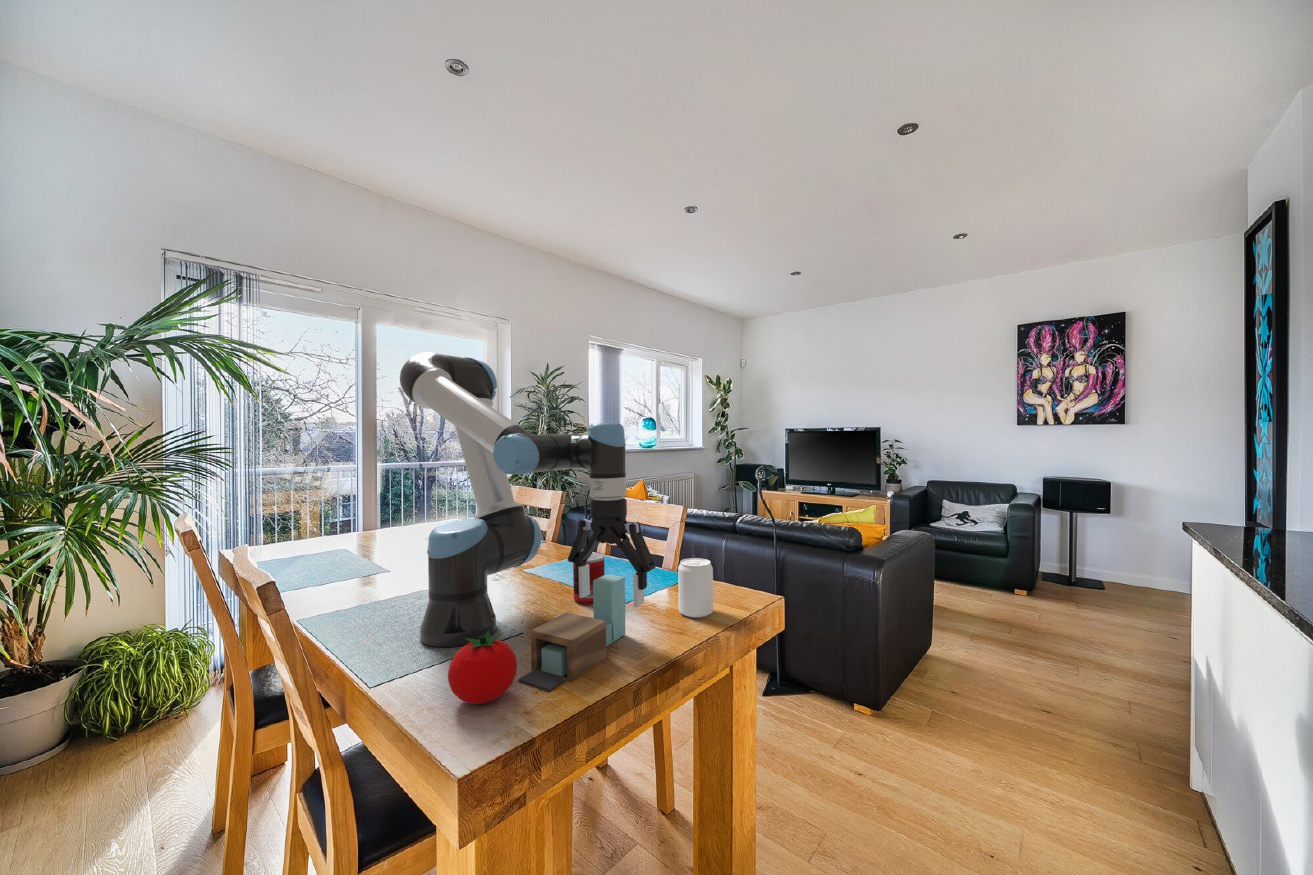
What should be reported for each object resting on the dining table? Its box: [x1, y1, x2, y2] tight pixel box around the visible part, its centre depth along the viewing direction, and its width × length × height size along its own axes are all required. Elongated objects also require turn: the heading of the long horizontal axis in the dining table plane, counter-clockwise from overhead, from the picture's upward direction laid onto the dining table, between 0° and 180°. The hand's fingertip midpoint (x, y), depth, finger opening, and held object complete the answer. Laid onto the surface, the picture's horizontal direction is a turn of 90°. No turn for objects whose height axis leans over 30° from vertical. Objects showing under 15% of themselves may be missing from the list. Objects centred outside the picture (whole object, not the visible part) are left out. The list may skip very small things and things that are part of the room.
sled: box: [541, 573, 626, 678], centre depth 96 cm, size 4×20×12 cm, turn 151°
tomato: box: [447, 631, 518, 705], centre depth 79 cm, size 10×10×10 cm
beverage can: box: [677, 557, 714, 619], centre depth 116 cm, size 8×8×12 cm
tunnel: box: [530, 612, 607, 682], centre depth 91 cm, size 9×10×7 cm
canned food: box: [572, 552, 606, 605], centre depth 126 cm, size 8×8×11 cm
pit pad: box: [517, 669, 566, 693], centre depth 84 cm, size 7×4×1 cm, turn 61°
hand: (611, 600), depth 102 cm, fingers open, 13 cm apart
